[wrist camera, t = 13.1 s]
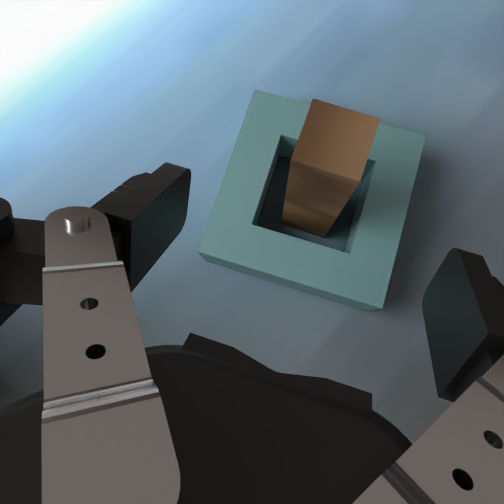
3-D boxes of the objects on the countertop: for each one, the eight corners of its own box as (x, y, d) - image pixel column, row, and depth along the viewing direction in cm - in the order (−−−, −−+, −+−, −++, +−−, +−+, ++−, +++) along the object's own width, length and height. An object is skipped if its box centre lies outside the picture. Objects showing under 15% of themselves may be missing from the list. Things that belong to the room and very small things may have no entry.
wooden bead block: (408, 156, 27) (426, 135, 24) (368, 311, 25) (382, 308, 22) (255, 115, 28) (254, 89, 25) (205, 260, 26) (198, 251, 23)
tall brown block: (337, 197, 26) (380, 118, 17) (323, 237, 26) (360, 181, 16) (295, 183, 27) (312, 98, 17) (280, 223, 26) (290, 159, 16)
